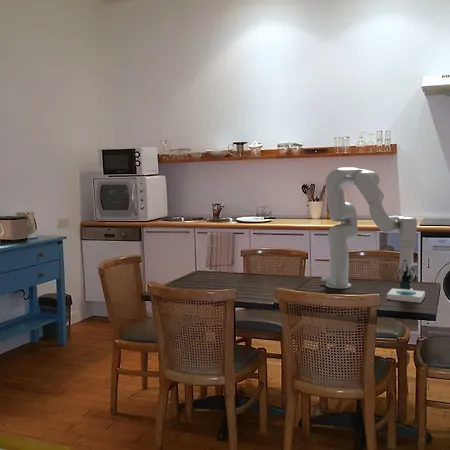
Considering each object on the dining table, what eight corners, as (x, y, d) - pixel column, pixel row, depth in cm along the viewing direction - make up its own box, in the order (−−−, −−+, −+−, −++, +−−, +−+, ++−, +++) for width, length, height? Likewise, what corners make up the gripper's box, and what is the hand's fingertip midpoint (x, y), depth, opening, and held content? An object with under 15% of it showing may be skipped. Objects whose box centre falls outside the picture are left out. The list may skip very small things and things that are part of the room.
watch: (414, 289, 265) (415, 265, 264) (396, 287, 268) (397, 264, 267) (416, 287, 270) (417, 264, 269) (398, 285, 273) (399, 262, 272)
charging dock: (386, 299, 267) (387, 293, 267) (396, 288, 288) (396, 283, 288) (420, 302, 260) (421, 296, 260) (427, 291, 282) (428, 286, 281)
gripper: (402, 241, 276) (400, 279, 278) (395, 245, 261) (394, 286, 263) (418, 242, 272) (417, 280, 274) (413, 247, 258) (411, 287, 260)
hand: (406, 282), depth 269 cm, fingers closed on watch, 3 cm apart
